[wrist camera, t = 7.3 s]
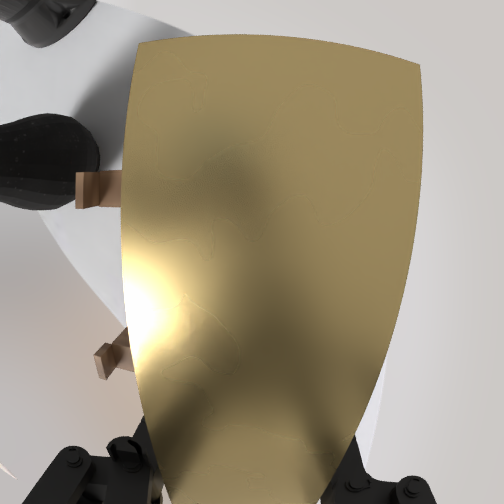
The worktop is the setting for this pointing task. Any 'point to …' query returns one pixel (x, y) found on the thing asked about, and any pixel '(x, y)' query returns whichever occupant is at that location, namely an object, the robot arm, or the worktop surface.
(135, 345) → the rail
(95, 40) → the worktop surface
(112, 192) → the rack
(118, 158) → the worktop surface
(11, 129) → the bottle
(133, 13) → the worktop surface
